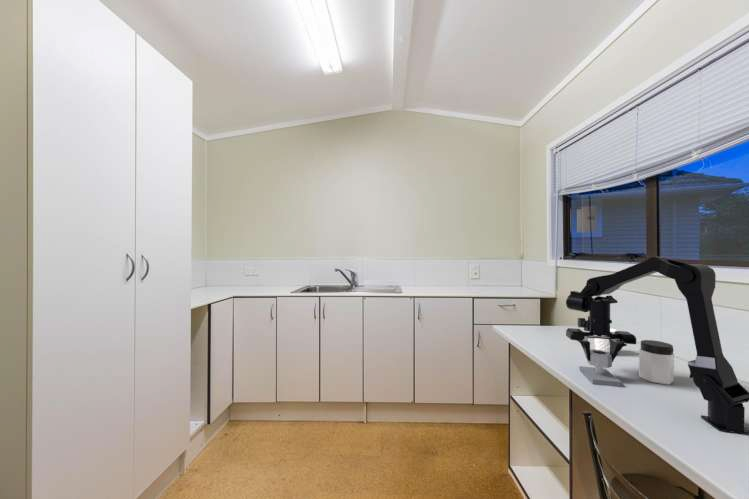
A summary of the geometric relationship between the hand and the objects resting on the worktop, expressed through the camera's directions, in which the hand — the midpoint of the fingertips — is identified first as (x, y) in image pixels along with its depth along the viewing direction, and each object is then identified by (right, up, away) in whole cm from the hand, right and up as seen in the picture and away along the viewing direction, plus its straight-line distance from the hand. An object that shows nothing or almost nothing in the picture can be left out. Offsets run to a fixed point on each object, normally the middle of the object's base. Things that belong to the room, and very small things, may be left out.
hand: (599, 361), depth 108 cm
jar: (+18, -6, -1) cm, 19 cm away
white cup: (+20, -6, +26) cm, 33 cm away
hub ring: (0, -1, 0) cm, 1 cm away
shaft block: (0, -6, 0) cm, 6 cm away
